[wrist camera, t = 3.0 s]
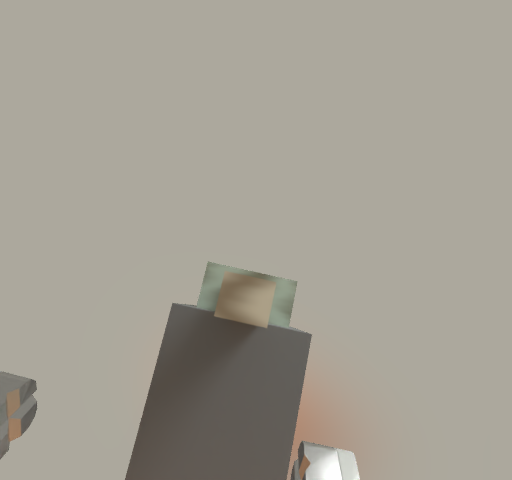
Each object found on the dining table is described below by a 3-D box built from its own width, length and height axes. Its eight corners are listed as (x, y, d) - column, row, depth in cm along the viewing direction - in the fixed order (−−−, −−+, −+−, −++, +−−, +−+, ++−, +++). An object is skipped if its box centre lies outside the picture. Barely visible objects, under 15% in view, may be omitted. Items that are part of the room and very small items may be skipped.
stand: (79, 649, 25) (172, 303, 30) (133, 539, 36) (192, 305, 42) (249, 690, 24) (311, 334, 30) (248, 567, 36) (293, 327, 42)
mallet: (164, 305, 21) (184, 231, 22) (203, 307, 41) (213, 268, 42) (316, 339, 21) (329, 263, 22) (282, 325, 41) (290, 285, 42)
